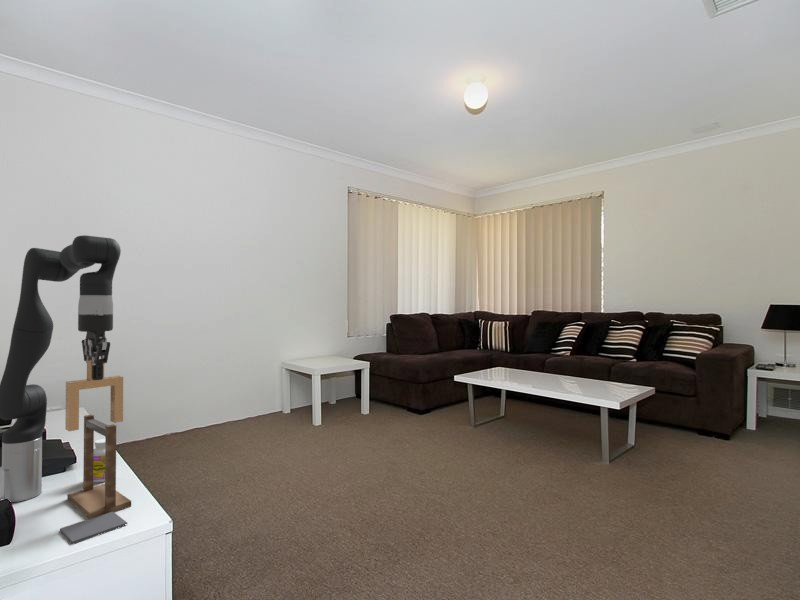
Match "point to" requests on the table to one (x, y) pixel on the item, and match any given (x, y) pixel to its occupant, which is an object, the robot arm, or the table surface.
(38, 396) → the robot arm
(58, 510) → the table surface
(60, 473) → the table surface
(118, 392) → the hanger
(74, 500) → the stand
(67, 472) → the table surface
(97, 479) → the supplement bottle
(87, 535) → the mat
